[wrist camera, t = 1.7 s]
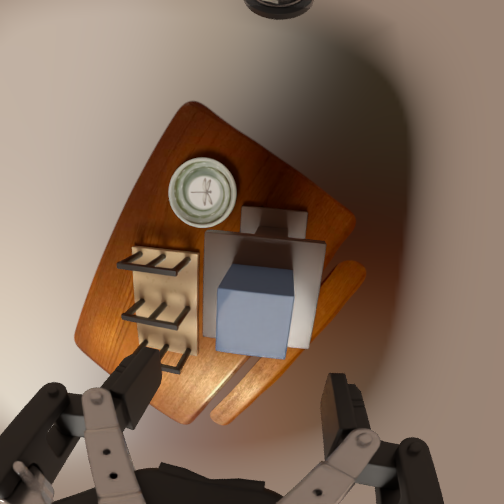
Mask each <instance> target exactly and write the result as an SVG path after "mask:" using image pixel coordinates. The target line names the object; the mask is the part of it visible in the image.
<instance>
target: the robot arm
mask: <svg viewBox="0 0 504 504" xmlns="http://www.w3.org/2000/svg"><path fill="white" fill-rule="evenodd" d="M255 1H256V2H257V3H259V4H261V5H263V6H266V7H270V8H288V7H292V6H294V5H297V4H299V3H300V2H301V1H302V0H255ZM161 380H162V370H161V361H160V352H159V350H158V349H153V348H149V347H142V349H141V350H140V351H139V352H138V354H137V355H135V354H131V355H130V356H128V357H126V358H124V359H123V361H122V362H121V363H120V364H119V366H118V367H117V368H116V369H115V371H113V373H112V374H111V375H110V376H109V377H108V379H107V380H106V381H105V382H104V384H103V385H102V386H101V387H100V388H91V389H89V390H87V391H85V393H84V394H83V395H82V394H73V393H67V390H66V387H65V386H64V385H62V384H61V383H56V382H52V383H48V384H46V385H44V386H43V387H42V388H41V389H40V390H39V391H38V392H37V393H36V395H35V396H34V397H33V398H32V399H31V400H30V401H29V403H28V404H27V405H26V406H25V407H24V408H23V409H22V410H21V412H20V413H19V414H18V415H17V416H16V417H15V419H14V420H13V421H12V422H11V423H10V424H9V426H8V427H7V428H6V429H5V430H4V432H3V433H2V434H1V435H0V504H339V503H340V502H341V501H342V500H343V498H344V497H345V496H346V495H347V493H348V492H349V491H350V490H351V488H352V487H353V486H354V485H355V483H359V484H364V485H369V486H374V487H375V492H376V503H377V504H444V501H443V497H442V493H441V489H440V486H439V482H438V478H437V475H436V471H435V468H434V464H433V461H432V457H431V454H430V451H429V448H428V446H427V444H426V443H425V442H424V441H422V440H421V439H419V438H414V437H413V438H412V437H411V438H406V439H404V440H403V441H402V442H401V443H400V444H394V443H388V442H384V441H381V440H380V438H379V436H378V435H377V434H376V433H375V432H374V431H372V430H371V428H370V424H369V421H368V416H367V413H366V409H365V407H364V406H365V405H364V401H363V398H362V395H361V391H360V390H359V389H358V388H357V387H356V385H355V384H348V383H347V379H346V375H345V374H343V373H329V374H328V377H327V380H326V384H325V387H324V391H323V394H322V398H321V407H320V408H321V420H322V431H323V442H324V455H325V461H324V462H323V461H321V462H320V463H319V464H318V465H317V466H316V467H315V468H314V469H313V470H312V471H311V472H310V473H309V474H308V475H307V476H306V477H304V478H303V479H302V480H301V482H299V483H298V484H297V485H296V486H295V487H294V488H293V489H292V490H291V491H290V492H288V493H287V494H286V495H285V496H284V497H283V496H282V495H280V494H278V493H276V492H274V491H272V490H269V489H266V488H264V486H265V482H264V481H255V480H246V479H239V478H238V479H208V478H206V477H204V476H201V475H199V474H197V473H194V472H192V471H190V470H188V469H185V468H181V467H178V466H173V465H170V464H166V463H163V462H161V464H160V466H159V468H146V469H139V470H135V468H134V465H133V462H132V459H131V456H130V453H129V451H128V447H127V444H126V441H125V438H124V435H123V431H124V429H125V428H129V429H132V430H134V429H135V427H136V425H137V424H138V422H139V420H140V418H141V417H142V415H143V413H144V412H145V410H146V408H147V406H148V405H149V403H150V401H151V400H152V398H153V396H154V395H155V393H156V391H157V389H158V388H159V386H160V384H161ZM52 425H53V426H52ZM49 429H50V430H49ZM47 432H48V433H47ZM80 437H84V438H85V443H86V448H87V453H88V458H89V463H90V467H91V472H92V476H93V480H94V483H95V487H94V488H92V489H89V490H86V491H84V492H81V493H78V494H76V495H72V496H69V497H66V498H63V499H60V500H57V501H54V502H53V497H54V489H53V487H52V483H53V482H54V480H55V478H56V477H57V475H58V473H59V471H60V470H61V468H62V467H63V465H64V463H65V462H66V460H67V458H68V457H69V455H70V453H71V452H72V450H73V449H74V447H75V445H76V444H77V442H78V441H79V439H80Z"/></svg>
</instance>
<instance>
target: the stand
mask: <svg viewBox="0 0 504 504" xmlns="http://www.w3.org/2000/svg"><path fill="white" fill-rule="evenodd" d="M307 218H308V212H307V211H298V210H289V209H279V208H268V207H257V206H246V205H243V206H242V210H241V225H240V232H230V231H219V230H207V231H206V232H205V241H204V272H203V336H204V337H211V338H216V315H217V288H218V286H219V285H220V283H221V281H222V280H223V278H224V276H225V275H226V273H227V271H228V270H229V268H230V267H231V265H232V264H240V265H249V266H259V267H268V268H278V269H287V270H293V276H294V294H295V298H294V305H293V312H292V319H291V326H290V332H289V338H288V345H287V347H292V348H303V349H309V345H310V340H311V335H312V330H313V324H314V319H315V314H316V308H317V302H318V296H319V290H320V284H321V277H322V271H323V265H324V258H325V251H326V243H325V241H319V240H310V239H305V235H306V227H307Z"/></svg>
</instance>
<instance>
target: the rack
mask: <svg viewBox="0 0 504 504" xmlns="http://www.w3.org/2000/svg"><path fill="white" fill-rule="evenodd" d="M132 262H133V263H132ZM117 268H118V269H125V270H132V271H133V281H134V296H135V304H134V305H133V306H132V307H131V308H129V309H128V310H127V311H126V312H125V313H123V314H122V315H121V316H122V320H127V321H131V322H136V323H137V328H138V337H139V344H140V345H139V346H138V348H137V349H136V350H135V351H134V352H133V354H135V355H137V354H138V352H139V351H140V350H141V349H142V347H146V346H149V347H153V348H158V349H161V350H160V351H159V352H160V361H161V359H162V358H163V356H164V355H165V353H166V352H167V351H172V352H177V353H182V354H183V355H182V357H181V359H180V360H179V362H178V364H177V366H176V367H174V366H169V365H164V364H161V370H162V371H166V372H170V373H175V374H180V373H181V370H182V368H183V366H184V364H185V363H186V361H187V359H188V357H189V355H193V356H198V354H199V335H198V302H199V253H198V252H189V251H179V250H170V249H161V248H152V247H143V246H133V247H132V255H131V256H129V257H127V258H126V259H124V260H122V261H119V262H118V263H117ZM135 312H136V315H133V314H134V313H135Z"/></svg>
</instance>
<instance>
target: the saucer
mask: <svg viewBox="0 0 504 504" xmlns="http://www.w3.org/2000/svg"><path fill="white" fill-rule="evenodd" d="M236 196H237V190H236V184H235V181H234V178H233V176H232V174H231V173H230V171H229V170H228V169H227V168H226V167H225V166H224V165H223V164H222V163H220V162H218V161H216V160H214V159H211V158H205V157H200V158H194V159H191V160H189V161H187V162H185V163H183V164H182V165H181V166H180V167H179V168H178V169H177V170H176V171H175V173H174V174H173V176H172V178H171V181H170V184H169V201H170V204H171V207H172V209H173V211H174V212H175V214H176V215H177V216H178V217H179V218H180V219H181V220H182V221H183V222H185V223H186V224H188V225H191V226H194V227H199V228H207V227H212V226H215V225H217V224H219V223H221V222H222V221H223V220H225V219H226V218H227V217H228V216H229V214H230V213H231V211H232V210H233V207H234V205H235V202H236Z"/></svg>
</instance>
